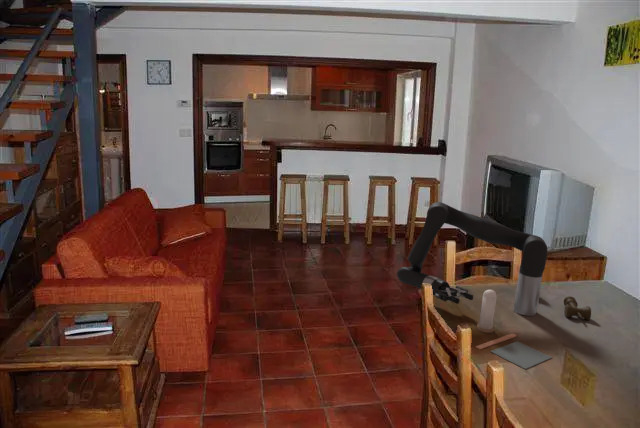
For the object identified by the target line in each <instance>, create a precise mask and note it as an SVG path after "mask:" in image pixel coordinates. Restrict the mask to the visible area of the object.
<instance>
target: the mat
mask: <svg viewBox="0 0 640 428" xmlns="http://www.w3.org/2000/svg"><path fill="white" fill-rule="evenodd" d="M490 353H491V354H494V355H496V356H498V357H500V358H502V359H504V360H505V361H508V362H510V363H512V364H514V365H516V366H517V367H519V368H522V369H524V370H527V369H530V368H533V367H535V366H536V365H540V364H541V363H544V362H546V361H549V360H550V359H553V356H551V355H548V354H545V353H544V352H541V351H539V350H537V349H535V348H532V347H531V346H528V345H526V344H525V343H522V342H519V341H514V342H511V343H509V344H505V345H503V346H501V347H498V348H495V349H493V350H490Z"/></svg>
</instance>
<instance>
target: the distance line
mask: <svg viewBox="0 0 640 428" xmlns="http://www.w3.org/2000/svg"><path fill="white" fill-rule="evenodd" d="M515 337H517V335H516V334H514V333H510V334H506V335H503V336H500V337H498V338H495V339H493V340H489V341H487V342H484V343H480V344H479V345H475V348H476V349H478V350H483V349H485V348H488V347H492V346H495V345H496V344H499V343H500V344H501V343H503V342H505V341H508V340H510V339H513V338H515Z"/></svg>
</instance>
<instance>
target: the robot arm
mask: <svg viewBox="0 0 640 428" xmlns="http://www.w3.org/2000/svg"><path fill="white" fill-rule="evenodd" d="M444 224H446V225H450V226H453V227H456V228H458V229H460V230H461V231H463V232H464V233H466V234H467V235H469V236H471V237H473V238H475V239H478V240H480V241H483V242H486V243H489V244H495V245H503V246H508V247H511V248H514V249H516V250H519V251H520V252H522V258H521V264H520V266H519V272H518V278H517V282H516V283H517V284H516V290H515V296H514V297H515V298H514V303H513V307H512V308H513V312H515V313H517V314H518V315H523V316H527V317H532V316H536V315H537V312H538V308H539V301H540V296H541V286H542V279H543V273H544V272H545V268H546V262H547V259H548V258H547V257H548V250H549V249H548V246H547V243H546V241H545V240H544V239H543V237H541V236H538V235H536V234H531V233H526V232H522V231H519V230H515V229H513V228H511V227H509V226H507V225H503V224H501V223H498V222H496V221H493V220H490V219H488V218H485V217H481V216H478V215H475V214H473V213H468V212H465V211H462V210H459V209H457V208H455V207H453V206H451V205H448V204H446V203H444V202H441V201H436V202H433V203H431V204H430V205H429V207H428V209H427V212H426V218H425V222H424V225H423V227H422V229H421V232H420V234H419V236H418V237H417V239H416V241H415V243H414V244H413V246H412V248H411V251H409V254H408V257H407V261H408V263H409V264H410V266H403V267H400V268H398V269H397V271H396V277H397V280H398V281H399V282H400V283H403V284H405V285H409V286H412V287H416V288H418V289H420V290H422V289H421V285H422V283H430V284H431V285H432V289H433V296H434V298H437V299H439V300H440V301H443V302H447V301H448V302H452V303H454V304H457V305H458V304H460V298H461V297H462V298H465V299H468V300H469V301H472V300H474V294H471V293H470V292H469V289H467V288H464V287H461V286H458V285H456V286H455V287H454V286H450V284H449V282H448V281H446V280H444V279H442V278H439V277H436V276H433V275H430V274H428V273H424V272H422V269H423V263H424V262H425V260H426V258H427V255H428V254H429V251H430V249H431V247H432V244H433V242H434V240H435V238H436V236H437V235H438V233H439V231H440V230H441V228H443V225H444Z"/></svg>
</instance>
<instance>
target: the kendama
mask: <svg viewBox="0 0 640 428" xmlns="http://www.w3.org/2000/svg"><path fill="white" fill-rule="evenodd" d="M563 305H564V306H565V307H564V311H563V312H564V316H565V318H568V319H569V318H571V317H580V319H584V320H586V321H590V320H591V317H592V308H591V306H589V305H586V306H585V307H582V308H580V307H579V308H578V302H577V300H576V298H575V297H573V296H565V297H564V299H563Z"/></svg>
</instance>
